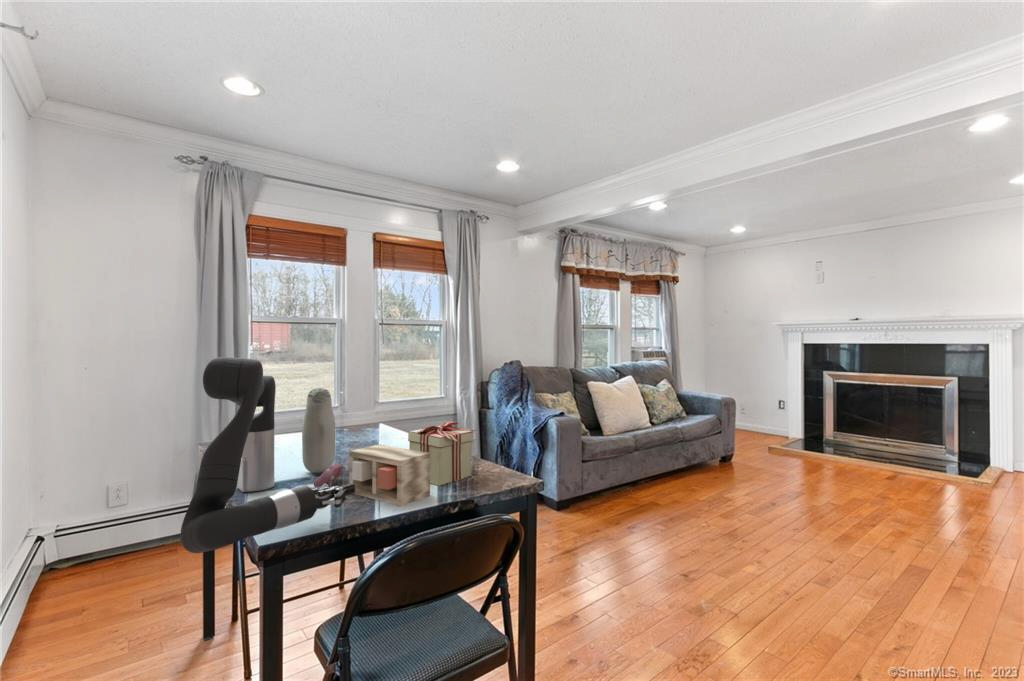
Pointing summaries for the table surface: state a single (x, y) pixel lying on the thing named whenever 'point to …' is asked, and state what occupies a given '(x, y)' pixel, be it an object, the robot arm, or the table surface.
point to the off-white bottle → (318, 432)
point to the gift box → (444, 451)
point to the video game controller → (330, 475)
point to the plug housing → (409, 474)
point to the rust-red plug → (387, 477)
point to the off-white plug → (362, 470)
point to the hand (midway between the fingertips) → (352, 487)
